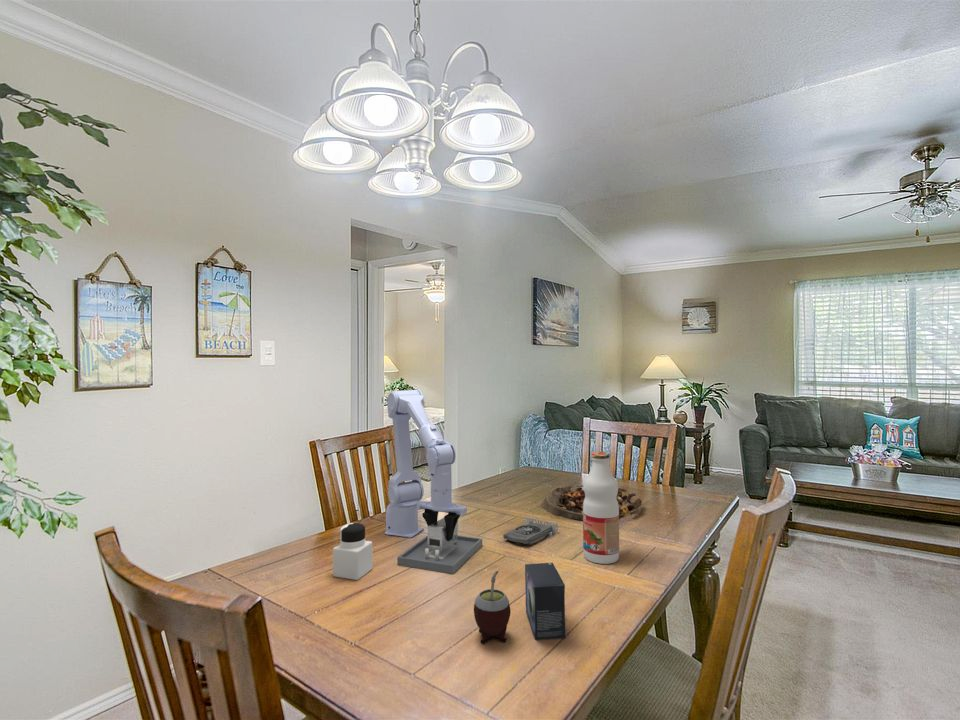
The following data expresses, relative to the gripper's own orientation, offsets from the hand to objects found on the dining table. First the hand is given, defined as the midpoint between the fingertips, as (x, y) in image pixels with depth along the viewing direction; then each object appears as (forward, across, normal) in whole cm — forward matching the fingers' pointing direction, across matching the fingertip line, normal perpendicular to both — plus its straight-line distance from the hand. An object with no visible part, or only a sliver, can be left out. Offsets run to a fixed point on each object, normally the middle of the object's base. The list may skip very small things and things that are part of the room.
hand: (441, 538), depth 136 cm
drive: (+2, 0, -1) cm, 2 cm away
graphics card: (+5, -16, -23) cm, 29 cm away
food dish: (+5, -27, -59) cm, 65 cm away
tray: (+4, 0, 0) cm, 4 cm away
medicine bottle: (+5, +15, +19) cm, 25 cm away
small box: (+5, -36, +23) cm, 43 cm away
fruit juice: (+5, -40, -16) cm, 43 cm away
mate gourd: (+5, -29, +31) cm, 43 cm away
